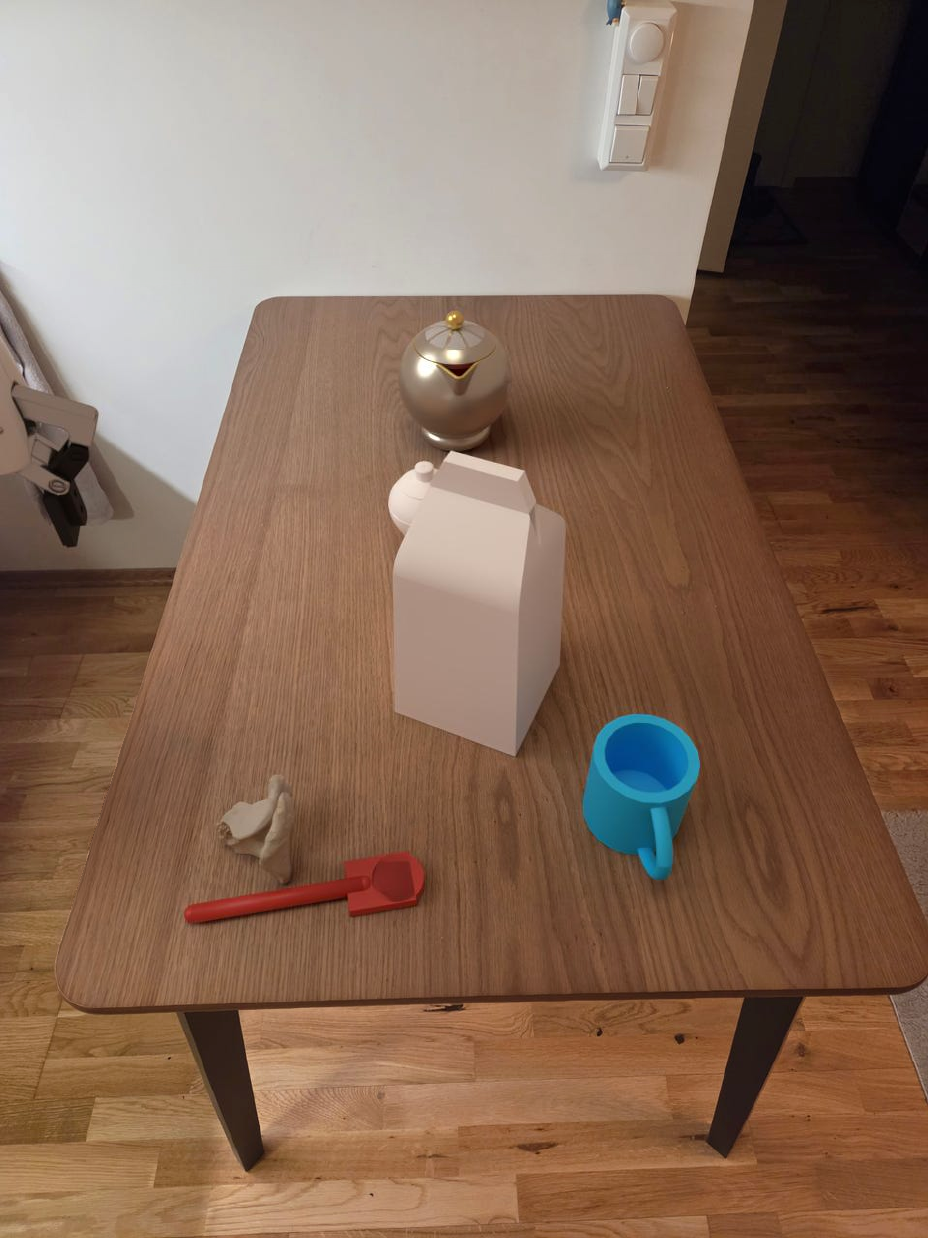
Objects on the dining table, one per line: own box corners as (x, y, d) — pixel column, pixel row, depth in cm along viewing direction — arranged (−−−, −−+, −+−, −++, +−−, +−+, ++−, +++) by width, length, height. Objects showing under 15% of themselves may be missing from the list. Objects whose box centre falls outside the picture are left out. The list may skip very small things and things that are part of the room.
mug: (573, 773, 75) (583, 718, 69) (665, 764, 75) (682, 709, 69) (604, 905, 67) (618, 856, 61) (706, 894, 67) (730, 844, 61)
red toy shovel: (185, 945, 65) (180, 938, 64) (187, 893, 67) (183, 885, 66) (428, 903, 67) (427, 895, 66) (420, 854, 70) (420, 846, 69)
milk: (394, 711, 79) (372, 490, 60) (447, 627, 86) (442, 405, 67) (515, 757, 76) (532, 537, 57) (559, 665, 83) (588, 442, 64)
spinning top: (391, 533, 96) (384, 444, 87) (460, 529, 96) (460, 441, 88) (393, 581, 91) (385, 492, 82) (465, 577, 91) (465, 488, 82)
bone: (215, 787, 72) (258, 732, 65) (287, 803, 75) (335, 753, 68) (197, 887, 67) (243, 839, 60) (276, 900, 69) (327, 856, 63)
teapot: (515, 467, 104) (522, 343, 92) (403, 472, 103) (395, 348, 91) (500, 385, 116) (504, 266, 104) (399, 389, 115) (392, 270, 103)
